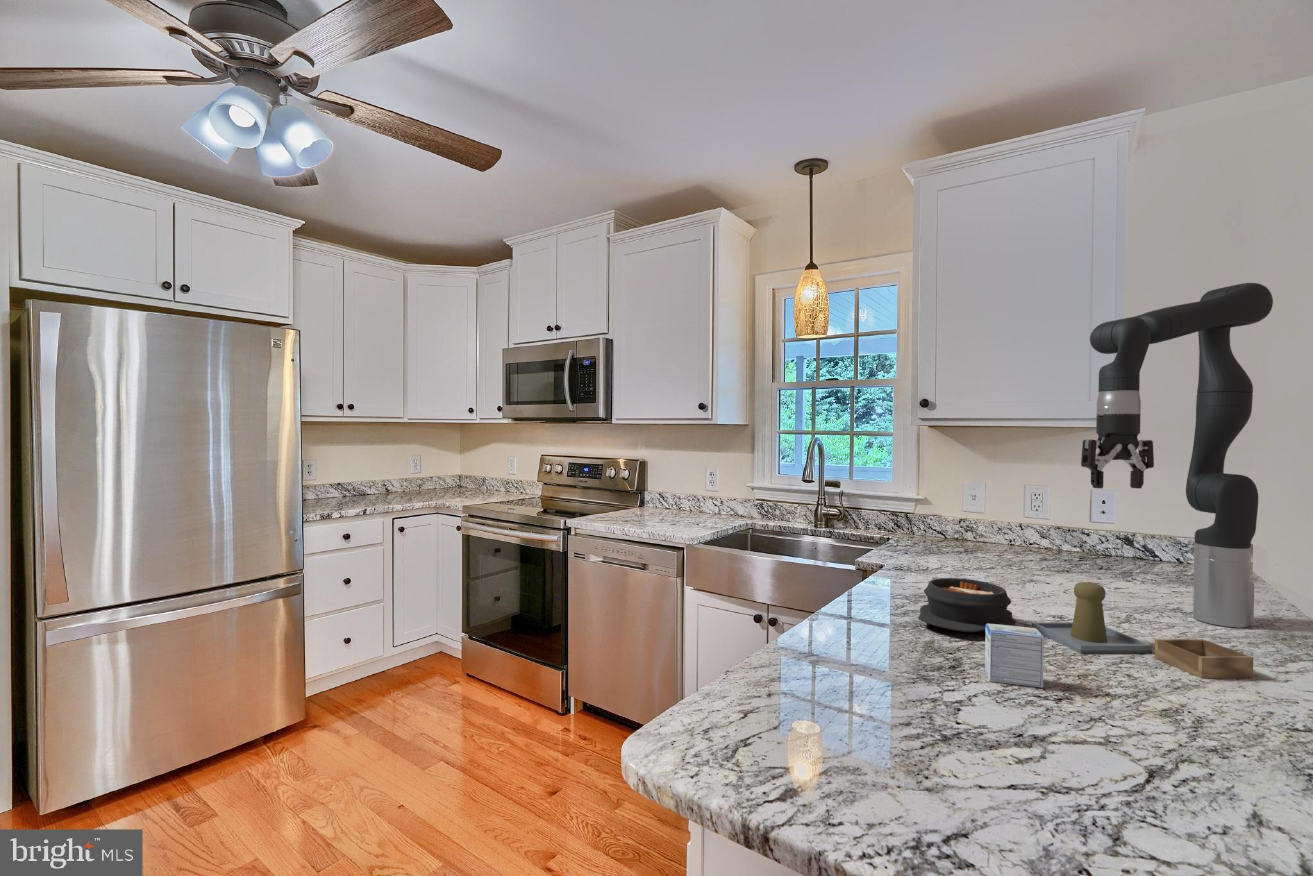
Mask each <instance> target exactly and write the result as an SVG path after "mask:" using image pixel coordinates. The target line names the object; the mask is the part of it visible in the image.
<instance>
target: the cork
mask: <svg viewBox="0 0 1313 876" xmlns="http://www.w3.org/2000/svg"><path fill="white" fill-rule="evenodd" d="M1073 594H1074V596H1075V597H1076V604H1075V607H1074V614H1073V619H1072V622H1073V624H1072V630H1071V636H1072V637H1074V638H1076V639H1079V640H1083V641H1087V642H1094V643H1105V642H1107V636H1106V629H1105V626H1106V622H1105V615H1104V610H1103V609H1104V608H1103V601H1104V600H1105V597H1106V590H1105V588H1104V587H1103V586H1102V585H1101V584H1098V583H1095V582H1090V581H1080V582H1076V584H1075V585H1074V587H1073Z"/></svg>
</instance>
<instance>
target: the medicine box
mask: <svg viewBox="0 0 1313 876" xmlns="http://www.w3.org/2000/svg"><path fill="white" fill-rule="evenodd" d="M984 639H985V640H984V641H985V642H984V644H985V645H984V671H985V674H986V677H987V678H988V681H989V682H991V683H992V682H994V683H1000V684H1002V683H1004V684H1008V685H1017V686H1018V685H1019V686H1027V687H1034V688H1044V660H1045V659H1044V658H1045V657H1044V656H1045V653H1044V652H1045V649H1044V648H1045V636H1044V635H1042V634H1041V633H1040V632H1039V631H1038V630H1037V629H1036V628H1032V627H1029V626H1027V627H1026V626H1018V625H1017V626H1015V625H1014V626H1009V625H998V624H986V631H985V638H984Z"/></svg>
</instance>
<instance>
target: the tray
mask: <svg viewBox="0 0 1313 876" xmlns="http://www.w3.org/2000/svg"><path fill="white" fill-rule="evenodd" d="M1072 624H1073V621H1071V622H1070V621H1069V622H1064V621H1063V622H1062V621H1061V622H1059V621H1058V622H1055V621H1054V622H1051V621H1049V622H1048V621H1047V622H1046V621H1043V622H1042V621H1041V622H1039V621H1038V622H1037V621H1036V622H1031V628H1036V629H1037V630H1038V631H1039V632H1040V633H1041V634H1042V636H1043V637H1046V638H1048V639H1050V640H1052V641H1054V642H1057V643H1058V644H1061V645H1062V646H1065V647H1066V648H1068V649H1070V650H1072V651H1075V652H1077V653H1079V654H1089V655H1090V654H1091V655H1092V654H1096V655H1097V654H1153V645H1152V644H1149V643H1147V642H1145V641H1143V640H1140V639H1137V638H1136V637H1132V636H1130V635H1127V634H1124V633H1122V632H1120V631H1118V630H1115V629H1113V628H1110V627H1108V626H1106V625H1105V629H1106V636H1107V642H1105V643H1094V642H1087V641H1083V640H1079V639H1076V638H1074V637H1072V636H1071V630H1072Z"/></svg>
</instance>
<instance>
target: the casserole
mask: <svg viewBox="0 0 1313 876" xmlns="http://www.w3.org/2000/svg"><path fill="white" fill-rule="evenodd" d="M923 593H924V594H925V596H926V597H927V604H923V605H922V606H921V607H920V608H919V615H918V620H920V621H921V622H923V623H926V624H928V625H931V626H933V627H937V628H942V629H946V630H950V631H955V632H963V633H978V632H980V631H981V632H982V631H986V624H998V625H1009V626H1015V625H1016V620H1015V619H1014V617H1013V612H1012V611H1010V610H1009V609H1008V606H1010V604H1012V600H1011V598H1010V597H1009V596H1008V593H1007V591H1006V589H1005V588H1003V587H1002V586H999V585H997V584H994V583H991V582H985V581H982V580H975V579H968V578H959V577H955V578H953V577H945V578H944V577H943V578H934V579H931V580H930V581H929V582H928V583H927V586H926V587H925V589H924V590H923ZM981 632H980V633H981ZM982 633H983V632H982Z"/></svg>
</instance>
